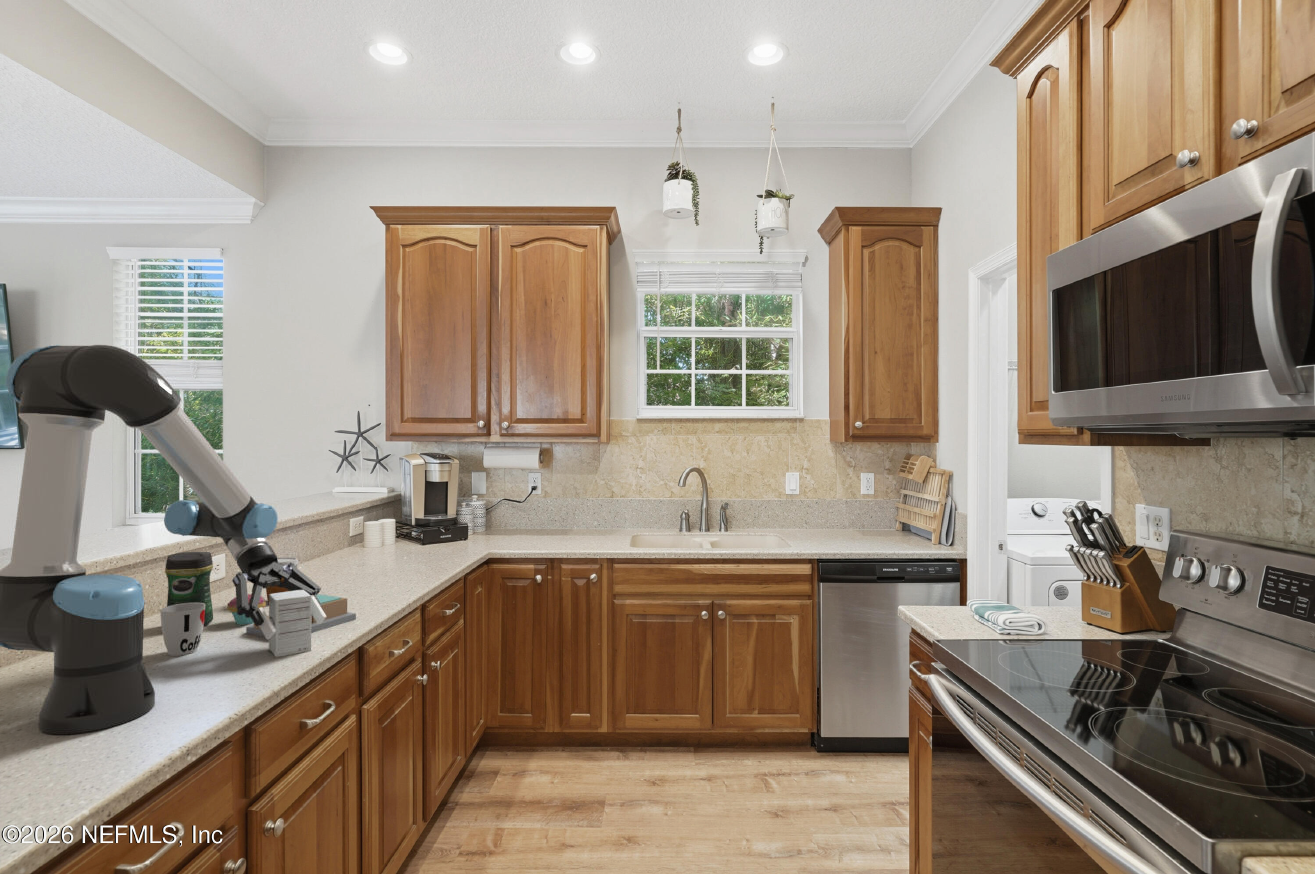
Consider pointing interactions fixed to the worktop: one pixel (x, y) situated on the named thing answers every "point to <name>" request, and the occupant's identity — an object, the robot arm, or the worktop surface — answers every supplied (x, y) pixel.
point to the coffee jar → (190, 580)
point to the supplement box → (290, 622)
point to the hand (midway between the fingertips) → (298, 627)
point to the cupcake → (241, 618)
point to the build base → (313, 626)
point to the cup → (182, 627)
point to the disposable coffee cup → (276, 589)
